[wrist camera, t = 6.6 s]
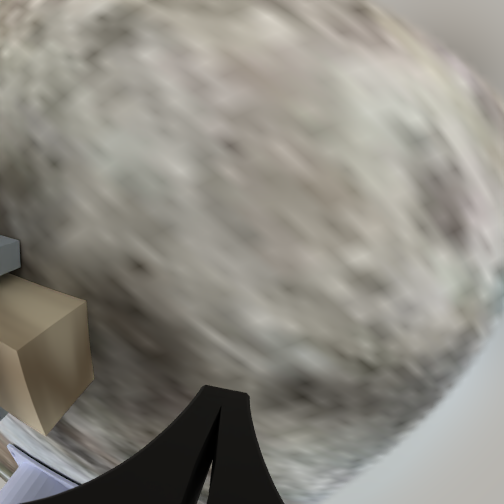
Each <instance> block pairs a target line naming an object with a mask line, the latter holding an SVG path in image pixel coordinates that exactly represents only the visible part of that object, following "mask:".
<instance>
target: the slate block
mask: <svg viewBox="0 0 504 504" xmlns="http://www.w3.org/2000/svg"><path fill="white" fill-rule="evenodd" d="M20 267H21V265H20V245H19V240H16V239H12V238H9V237H5V236H2V235H0V276H1V275H3V274H6V273H8V272H10V271H13V270H15V269H18V268H20ZM8 413H9V412H7V411H6V410H4V409H3V408H2V407H0V421H1V420H2V419H3V418H4V417H5V416H6V415H7V414H8Z"/></svg>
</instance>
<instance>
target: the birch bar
mask: <svg viewBox="0 0 504 504" xmlns="http://www.w3.org/2000/svg"><path fill="white" fill-rule="evenodd" d="M93 380H94V372H93V365H92V357H91V349H90V340H89V329H88V317H87V301H86V300H82V299H79V298H76V297H73V296H70V295H67V294H64V293H61V292H58V291H55V290H53V289H50V288H47V287H44V286H41V285H39V284H36V283H33V282H30V281H28V280H25V279H23V278H20V277H17V276H15V275H12V274H10V273H6V274H3V275H1V276H0V407H2V408H3V409H4V410H6V411H7V412H9V413H10V414H11V415H13V416H14V417H16V418H17V419H19V420H20V421H22V422H23V423H25V424H26V425H28V426H30V427H31V428H33V429H34V430H36V431H38V432H39V433H41V434H43V435H44V436H47V435H48V433H49V432H50V431H51V430H52V429H53V427H54V426H55V425H56V424H57V422H58V421H59V420H60V419H61V418H62V416H63V415H64V414H65V413H66V412H67V410H68V409H69V408H70V407H71V406H72V404H73V403H74V402H75V401H76V400H77V398H78V397H79V396H80V395H81V394H82V393H83V391H84V390H85V389H86V388H87V387H88V386H89V384H90V383H91V382H92V381H93Z"/></svg>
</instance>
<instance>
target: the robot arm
mask: <svg viewBox="0 0 504 504" xmlns="http://www.w3.org/2000/svg"><path fill="white" fill-rule="evenodd" d="M249 399H250V396H249V395H248V394H247V393H244V392H238V391H233V390H228V389H223V388H218V387H213V386H209V385H205V386H203V387H201V389H200V390H199V392H198V393H197V395H196V396H195V397H194V399H193V400H192V401H191V402H190V404H189V405H188V406H187V407H186V408H185V409H184V411H183V412H182V413H181V414H180V415H179V416H178V417H177V418H176V419H175V420H174V421H173V422H172V423H171V424H170V425H169V426H168V427H167V428H166V429H165V430H164V431H163V432H162V433H160V434H159V435H158V436H157V437H156V438H155V439H153V440H152V441H151V442H150V443H149V444H148V445H146V446H145V447H144V448H143V449H141V450H140V451H139V452H137V453H136V454H134V455H133V456H132V457H130V458H129V459H127V460H126V461H124V462H123V463H121V464H120V465H118V466H116V467H115V468H113V469H111V470H109V471H108V472H106V473H104V474H102V475H100V476H99V477H97V478H95V479H93V480H91V481H89V482H86V483H84V484H82V485H77V484H75V483H73V482H71V481H69V480H68V479H66V478H64V477H62V476H60V475H58V474H57V473H55V472H53V471H51V470H50V469H48V468H46V467H45V466H43V465H41V464H40V463H38V462H37V461H35V460H34V459H32V458H30V457H29V456H27V455H26V454H24V453H23V452H22V451H20V450H19V449H17V448H16V447H14V446H13V445H12V444H8V445H7V447H8V449H9V451H10V453H11V454H12V456H13V457H14V459H15V461H16V462H17V464H18V465H19V467H18V469H17V470H16V471H15V472H14V474H13V475H12V476H11V478H10V479H9V480H8V481H7V483H6V484H5V486H4V487H3V488H2V489H1V491H0V504H197V501H198V498H199V496H200V493H201V490H202V488H203V485H204V482H205V479H206V477H207V474H208V471H209V468H210V465H211V463H212V470H211V479H210V488H209V496H208V500H207V504H284V502H283V500H282V499H281V497H280V495H279V493H278V491H277V489H276V487H275V485H274V483H273V481H272V478H271V476H270V474H269V472H268V469H267V467H266V464H265V462H264V459H263V456H262V453H261V450H260V447H259V444H258V441H257V437H256V434H255V430H254V426H253V422H252V417H251V411H250V400H249ZM212 460H213V462H212Z"/></svg>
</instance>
